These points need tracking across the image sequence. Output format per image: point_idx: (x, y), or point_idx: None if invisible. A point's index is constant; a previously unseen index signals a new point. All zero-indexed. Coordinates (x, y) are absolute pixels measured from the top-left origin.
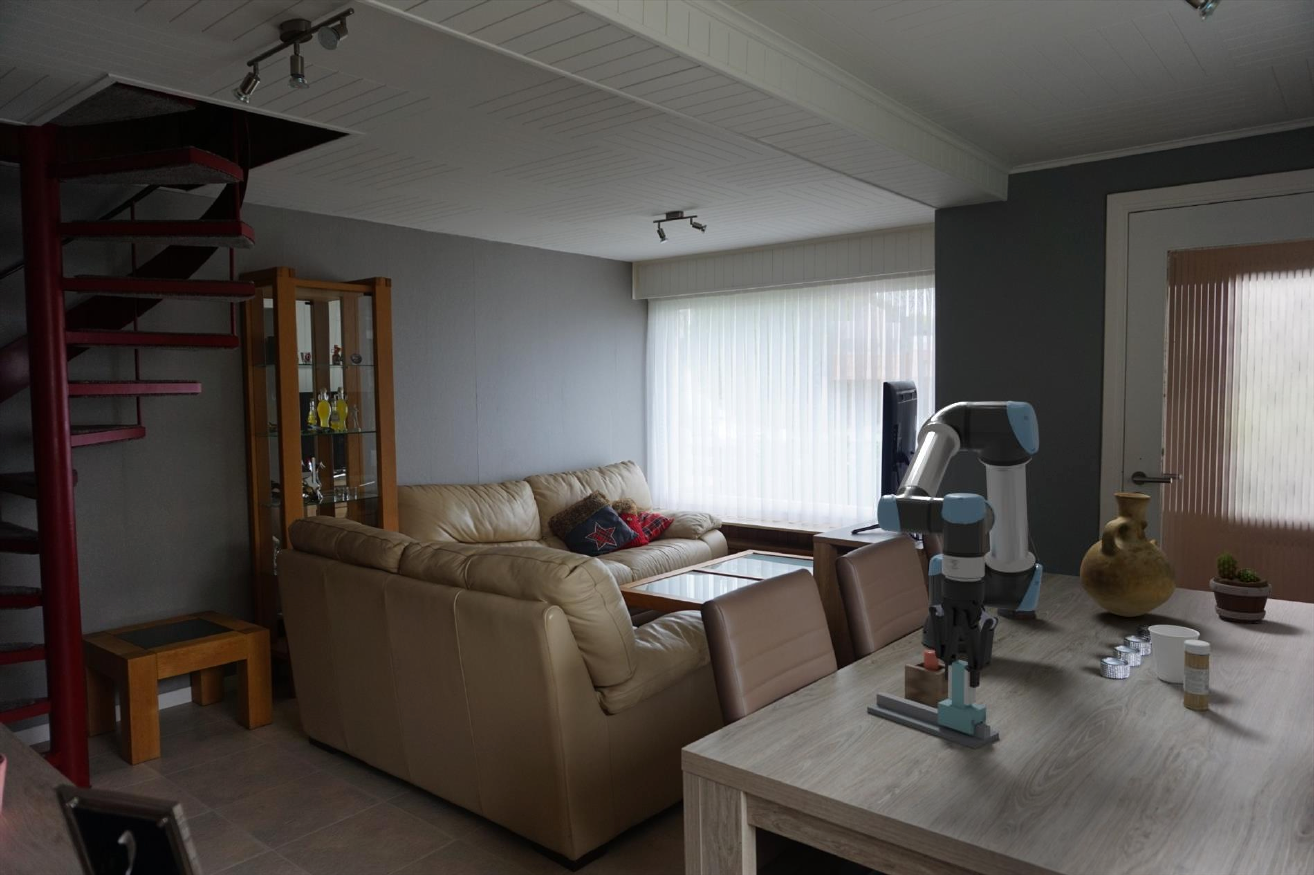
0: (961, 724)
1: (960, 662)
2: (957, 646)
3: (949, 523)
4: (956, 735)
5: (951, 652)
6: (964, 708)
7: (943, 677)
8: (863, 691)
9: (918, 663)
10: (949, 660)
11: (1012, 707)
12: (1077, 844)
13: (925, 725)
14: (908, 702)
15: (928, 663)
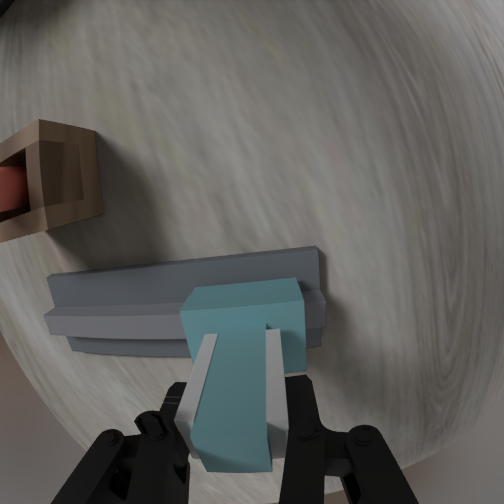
0: None
1: (223, 457)
2: (165, 497)
3: None
4: None
5: (184, 498)
6: None
7: (53, 196)
8: (9, 269)
9: None
10: (189, 473)
11: (199, 44)
12: (485, 400)
13: (189, 352)
14: (104, 330)
15: (1, 210)
